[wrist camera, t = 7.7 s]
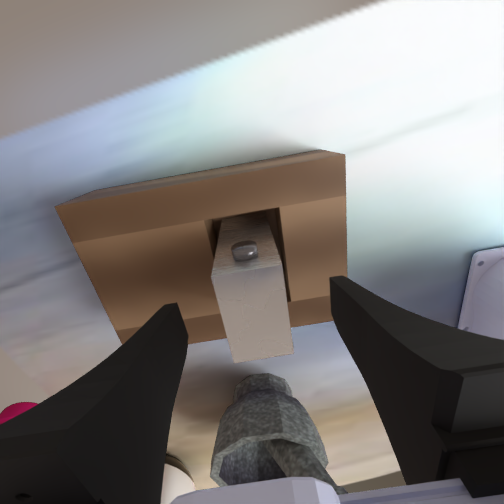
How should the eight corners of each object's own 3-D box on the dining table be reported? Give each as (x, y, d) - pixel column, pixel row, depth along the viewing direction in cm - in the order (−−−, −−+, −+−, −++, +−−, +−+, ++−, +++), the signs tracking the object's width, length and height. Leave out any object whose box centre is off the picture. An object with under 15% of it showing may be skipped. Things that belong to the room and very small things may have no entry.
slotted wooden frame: (328, 284, 23) (347, 318, 19) (146, 314, 23) (127, 354, 19) (321, 149, 18) (345, 154, 14) (95, 190, 19) (54, 206, 14)
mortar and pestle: (257, 434, 31) (268, 600, 20) (198, 396, 28) (171, 568, 17) (335, 385, 28) (397, 547, 17) (278, 337, 25) (310, 497, 14)
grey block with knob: (275, 279, 20) (294, 360, 13) (236, 285, 21) (235, 370, 13) (263, 204, 18) (280, 254, 11) (220, 212, 18) (208, 266, 11)
